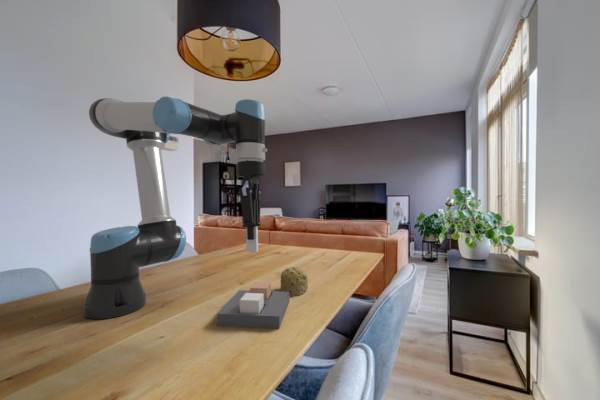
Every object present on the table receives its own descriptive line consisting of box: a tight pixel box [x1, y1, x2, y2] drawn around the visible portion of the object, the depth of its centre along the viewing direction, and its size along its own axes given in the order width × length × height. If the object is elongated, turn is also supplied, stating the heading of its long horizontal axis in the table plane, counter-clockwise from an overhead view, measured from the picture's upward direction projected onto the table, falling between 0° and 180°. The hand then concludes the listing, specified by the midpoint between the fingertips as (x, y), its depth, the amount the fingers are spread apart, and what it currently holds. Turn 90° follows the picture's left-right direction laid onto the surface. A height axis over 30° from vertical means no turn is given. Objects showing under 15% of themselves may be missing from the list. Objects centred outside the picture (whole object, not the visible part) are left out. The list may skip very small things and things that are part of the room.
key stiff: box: [249, 281, 272, 300], centre depth 79 cm, size 5×5×4 cm
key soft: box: [240, 293, 264, 314], centre depth 70 cm, size 5×5×4 cm
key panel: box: [216, 289, 290, 329], centre depth 75 cm, size 16×17×3 cm
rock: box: [280, 266, 309, 297], centre depth 92 cm, size 10×11×10 cm
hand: (252, 251), depth 70 cm, fingers closed
